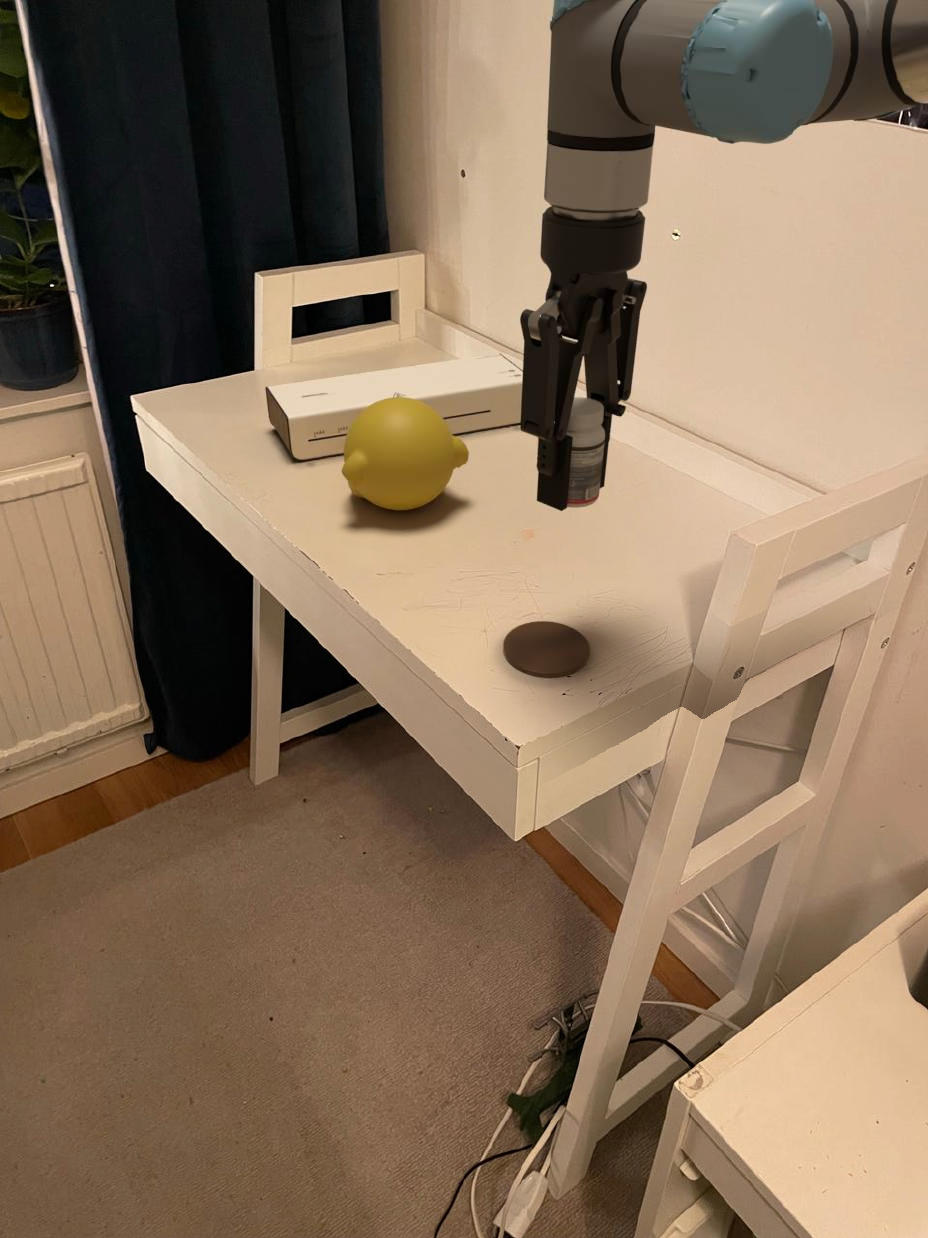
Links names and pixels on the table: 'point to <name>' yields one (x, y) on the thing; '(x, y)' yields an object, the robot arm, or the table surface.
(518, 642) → the coaster
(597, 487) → the pill bottle
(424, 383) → the laminator
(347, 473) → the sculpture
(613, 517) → the table surface
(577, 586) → the table surface
